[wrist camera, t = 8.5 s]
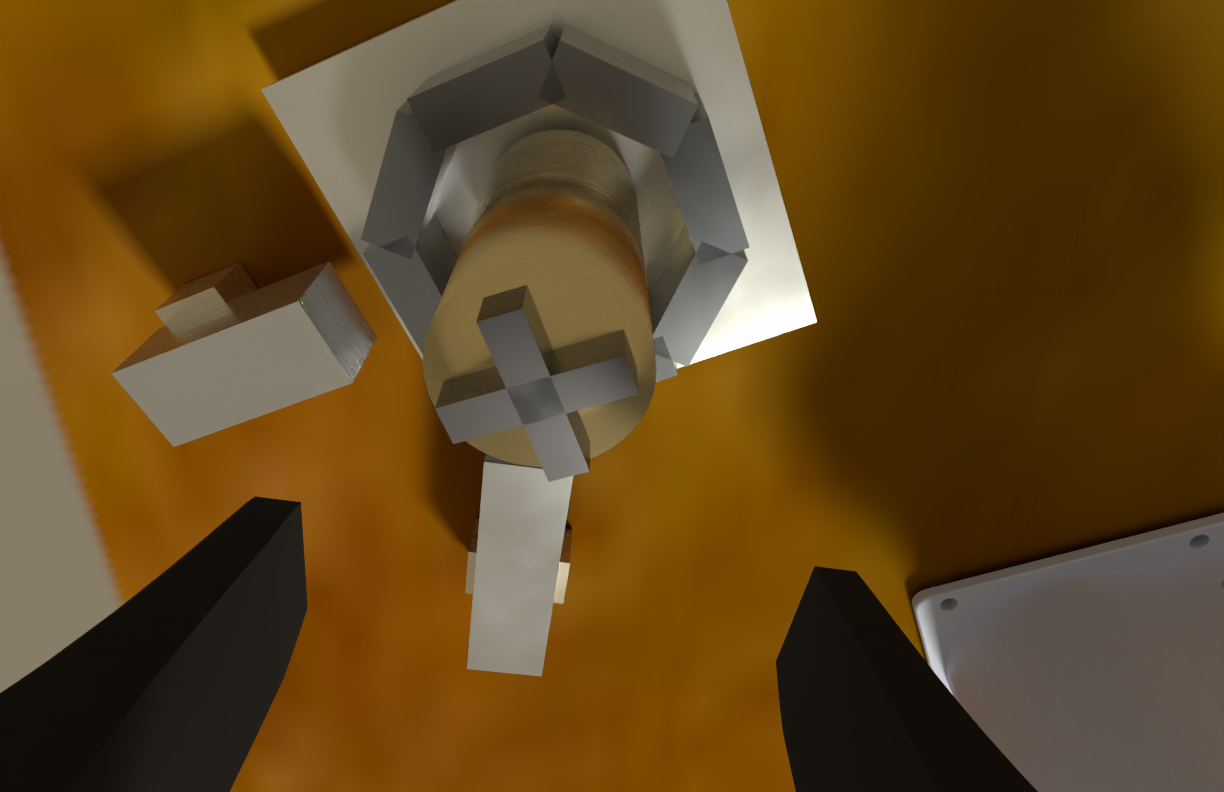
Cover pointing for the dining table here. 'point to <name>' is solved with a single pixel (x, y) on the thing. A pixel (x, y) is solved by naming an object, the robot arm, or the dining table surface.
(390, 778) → the dining table surface
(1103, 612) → the robot arm
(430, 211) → the coupling socket
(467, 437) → the coupler
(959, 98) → the dining table surface
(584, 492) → the dining table surface
